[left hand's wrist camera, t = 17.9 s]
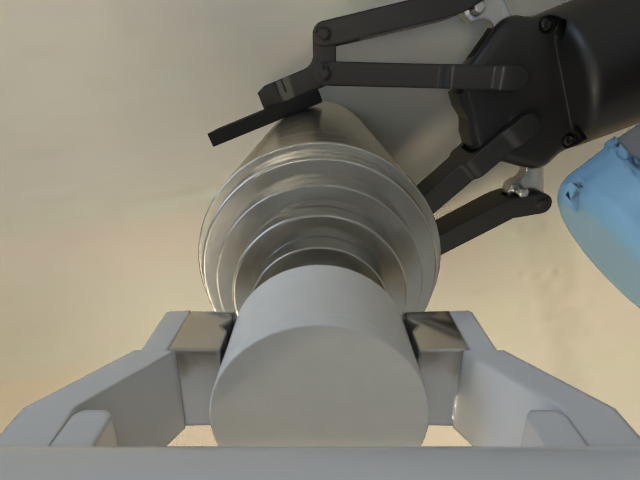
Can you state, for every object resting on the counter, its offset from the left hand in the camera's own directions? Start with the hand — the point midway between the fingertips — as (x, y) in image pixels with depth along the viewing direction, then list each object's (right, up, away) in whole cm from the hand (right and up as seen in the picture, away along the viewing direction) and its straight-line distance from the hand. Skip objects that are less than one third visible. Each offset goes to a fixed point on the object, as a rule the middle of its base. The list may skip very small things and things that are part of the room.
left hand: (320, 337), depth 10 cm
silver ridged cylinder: (0, +8, +22) cm, 24 cm away
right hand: (-4, +5, +17) cm, 18 cm away
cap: (0, -1, -2) cm, 2 cm away
